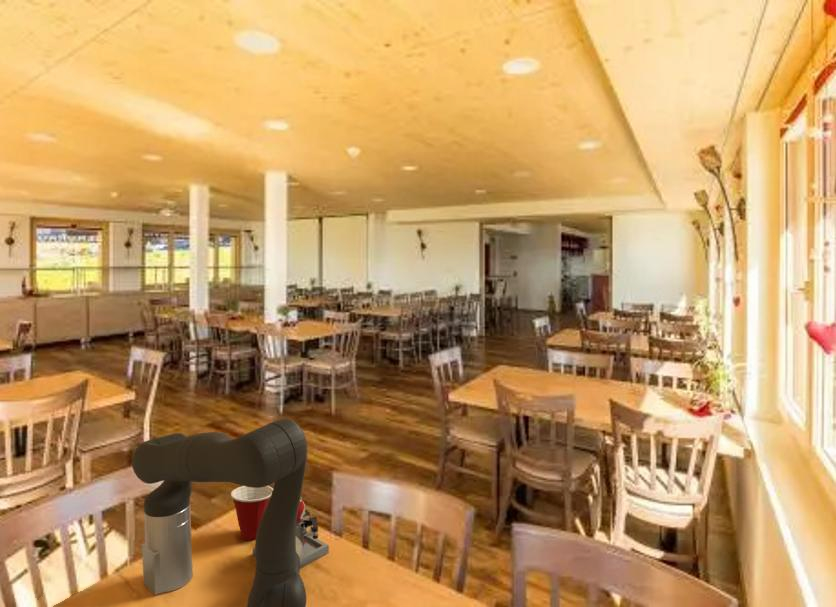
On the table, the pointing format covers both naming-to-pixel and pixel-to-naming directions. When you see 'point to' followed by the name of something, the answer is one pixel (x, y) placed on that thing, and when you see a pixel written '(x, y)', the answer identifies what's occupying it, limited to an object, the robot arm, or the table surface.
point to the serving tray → (311, 550)
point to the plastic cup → (250, 508)
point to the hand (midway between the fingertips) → (291, 514)
